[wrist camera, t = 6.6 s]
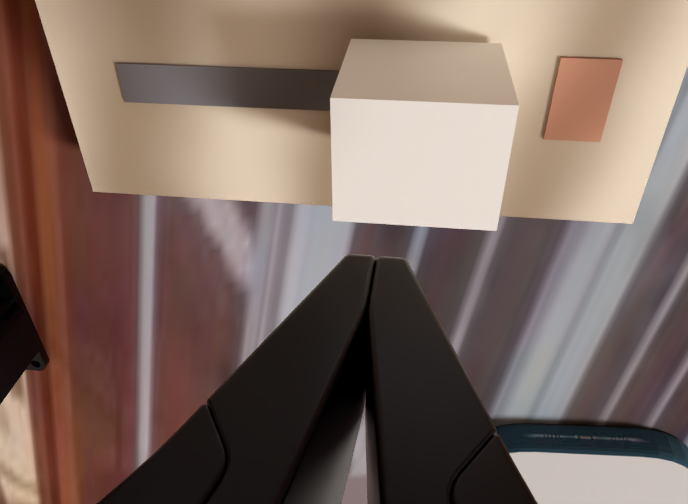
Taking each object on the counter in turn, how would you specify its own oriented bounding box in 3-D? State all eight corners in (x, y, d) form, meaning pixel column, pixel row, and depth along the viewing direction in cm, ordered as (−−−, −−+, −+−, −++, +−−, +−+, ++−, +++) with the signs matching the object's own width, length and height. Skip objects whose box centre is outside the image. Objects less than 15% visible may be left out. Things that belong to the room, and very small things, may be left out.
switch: (351, 145, 18) (332, 221, 15) (351, 38, 16) (330, 97, 13) (485, 152, 18) (496, 230, 14) (501, 43, 16) (519, 105, 12)
